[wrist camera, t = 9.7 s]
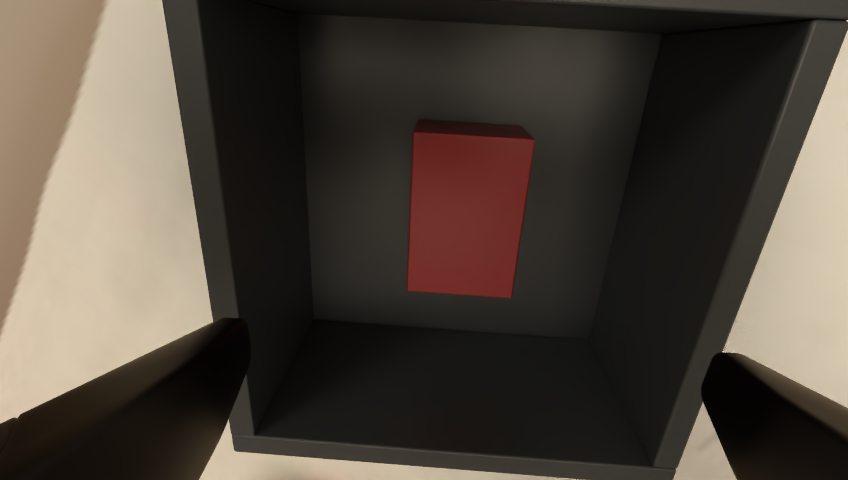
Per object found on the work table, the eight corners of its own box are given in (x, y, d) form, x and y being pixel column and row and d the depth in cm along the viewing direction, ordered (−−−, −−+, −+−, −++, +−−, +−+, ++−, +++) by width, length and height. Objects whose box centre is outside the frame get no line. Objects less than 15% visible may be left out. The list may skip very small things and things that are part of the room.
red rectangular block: (502, 264, 19) (511, 299, 17) (412, 258, 19) (406, 291, 17) (521, 125, 17) (536, 138, 14) (418, 118, 17) (412, 131, 14)
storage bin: (597, 346, 21) (670, 487, 14) (302, 324, 22) (233, 452, 15) (682, 11, 16) (871, -25, 9) (280, -11, 16) (151, -62, 9)
